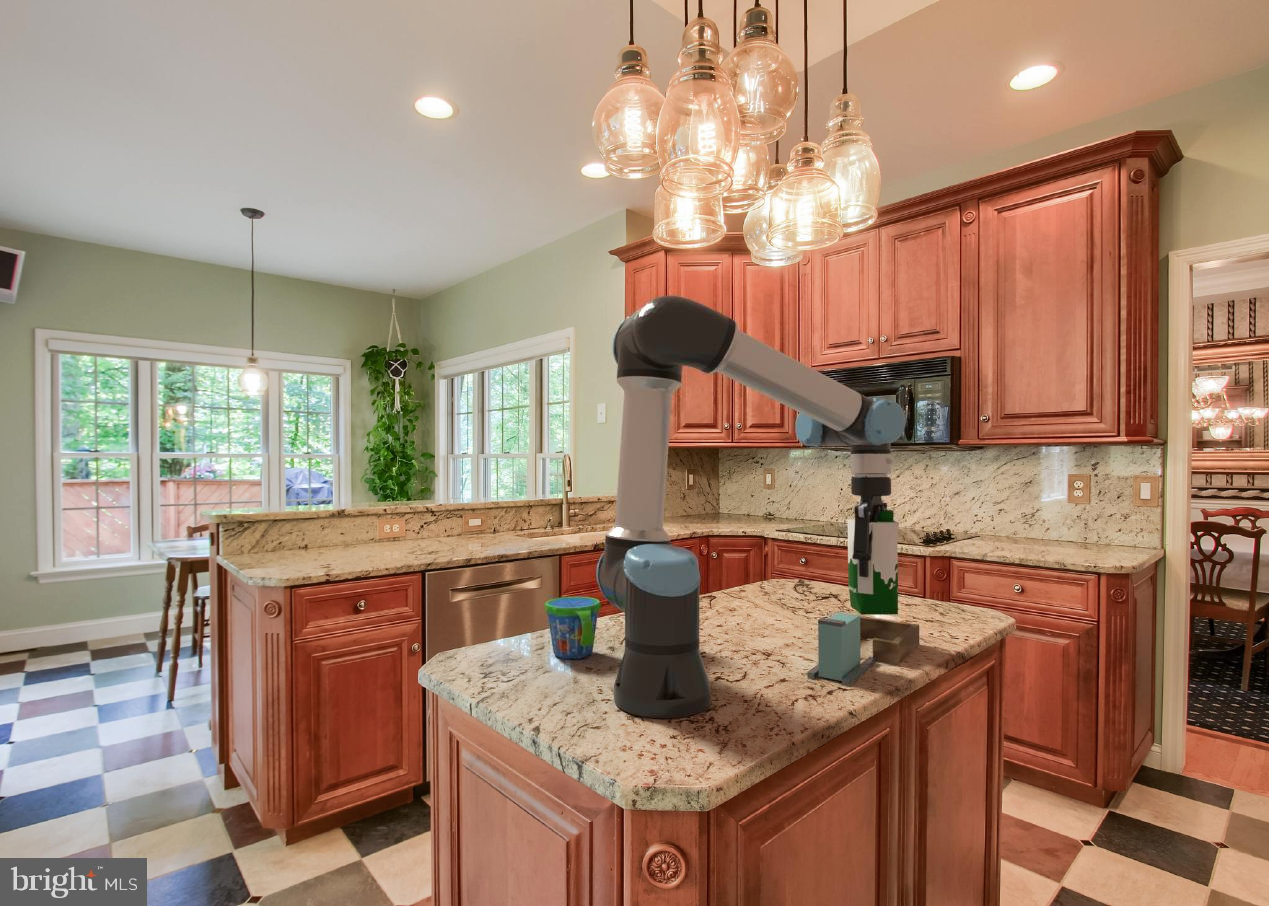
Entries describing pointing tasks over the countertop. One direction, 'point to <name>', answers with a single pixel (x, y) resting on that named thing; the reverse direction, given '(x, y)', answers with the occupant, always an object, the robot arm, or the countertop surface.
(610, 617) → the countertop surface
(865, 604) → the soya milk
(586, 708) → the countertop surface
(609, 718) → the countertop surface
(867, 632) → the cradle
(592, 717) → the countertop surface
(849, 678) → the rails
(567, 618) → the snack cup
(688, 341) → the robot arm
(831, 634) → the slider block
